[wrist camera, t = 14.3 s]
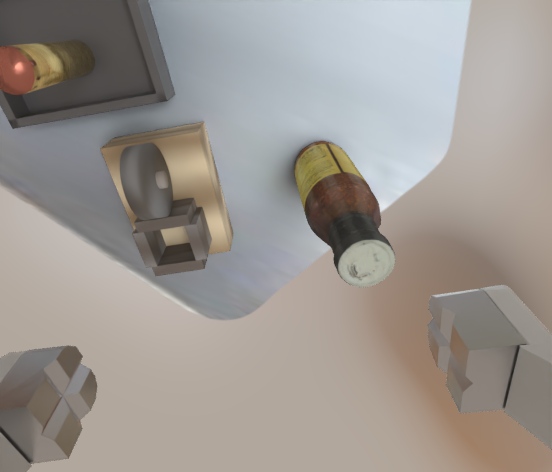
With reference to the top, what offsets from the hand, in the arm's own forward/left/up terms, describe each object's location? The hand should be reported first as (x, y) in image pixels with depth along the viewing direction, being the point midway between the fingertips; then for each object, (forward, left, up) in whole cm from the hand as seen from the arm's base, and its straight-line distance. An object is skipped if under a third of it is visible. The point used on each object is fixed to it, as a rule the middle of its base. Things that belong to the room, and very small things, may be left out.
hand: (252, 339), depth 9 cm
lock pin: (-6, -17, -33) cm, 38 cm away
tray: (-7, -17, -34) cm, 39 cm away
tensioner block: (+9, -12, -34) cm, 37 cm away
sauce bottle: (+9, +5, -34) cm, 36 cm away
